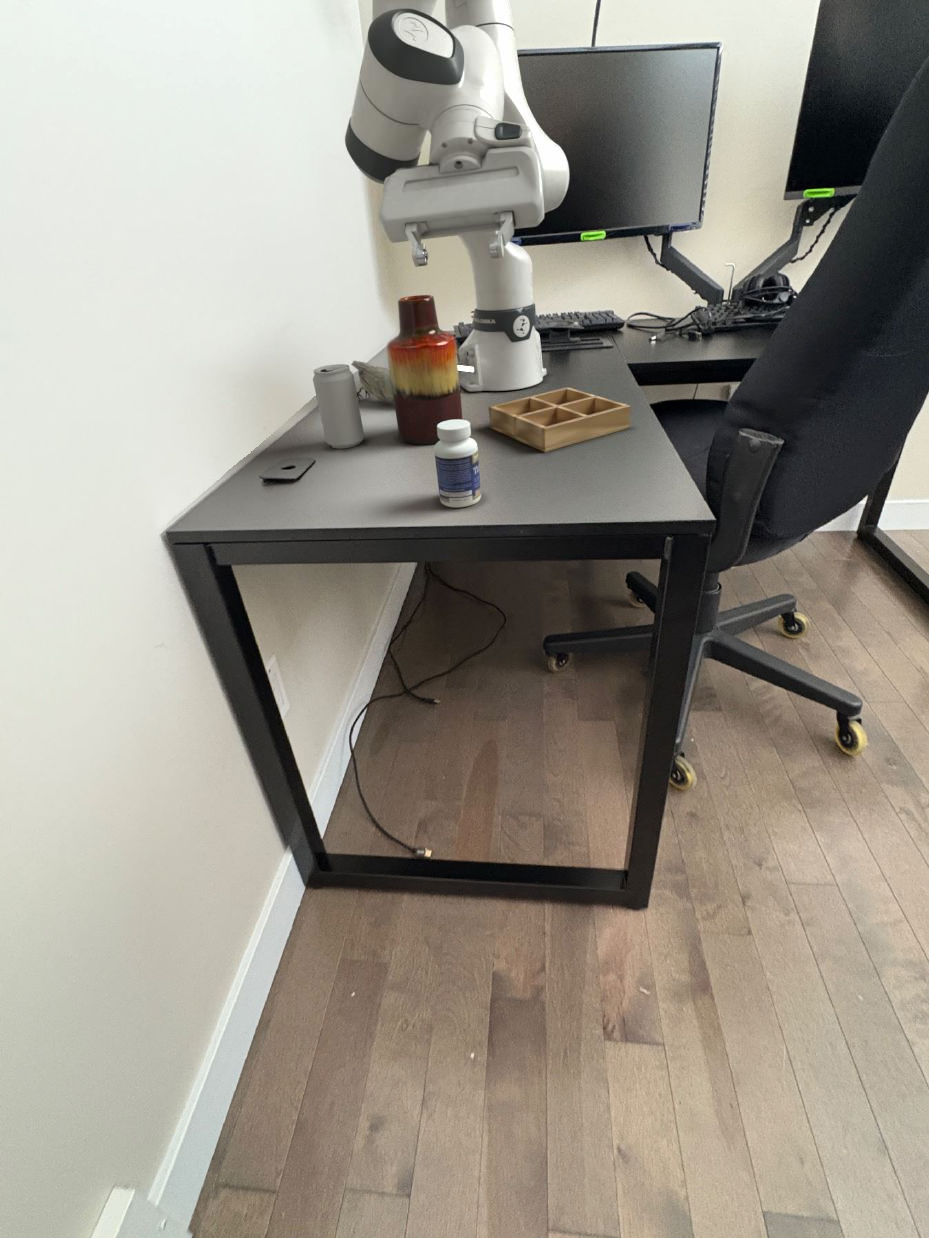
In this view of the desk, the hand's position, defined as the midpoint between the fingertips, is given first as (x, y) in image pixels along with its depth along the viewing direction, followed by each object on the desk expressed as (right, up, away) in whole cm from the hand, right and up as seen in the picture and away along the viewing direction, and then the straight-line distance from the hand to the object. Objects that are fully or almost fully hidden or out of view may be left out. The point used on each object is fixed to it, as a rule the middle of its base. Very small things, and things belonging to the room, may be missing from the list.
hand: (457, 258), depth 72 cm
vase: (-5, -12, +29) cm, 32 cm away
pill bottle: (0, -28, +5) cm, 29 cm away
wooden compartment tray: (+16, -12, +26) cm, 33 cm away
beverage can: (-19, -14, +28) cm, 37 cm away
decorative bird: (-14, -1, +47) cm, 49 cm away
